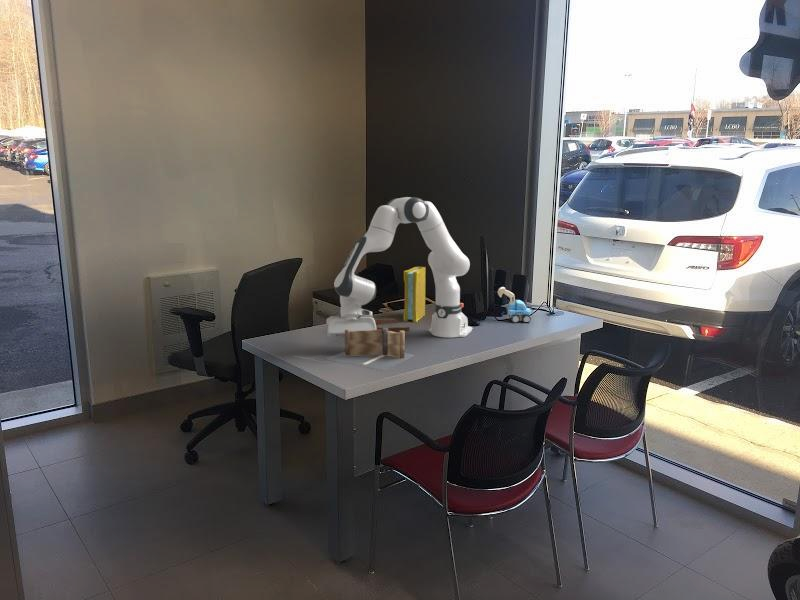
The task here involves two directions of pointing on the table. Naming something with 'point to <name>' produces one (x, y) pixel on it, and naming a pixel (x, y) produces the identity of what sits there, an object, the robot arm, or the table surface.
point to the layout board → (370, 360)
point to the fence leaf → (363, 342)
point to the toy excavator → (516, 307)
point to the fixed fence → (393, 343)
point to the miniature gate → (392, 329)
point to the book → (414, 293)
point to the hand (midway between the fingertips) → (352, 345)
